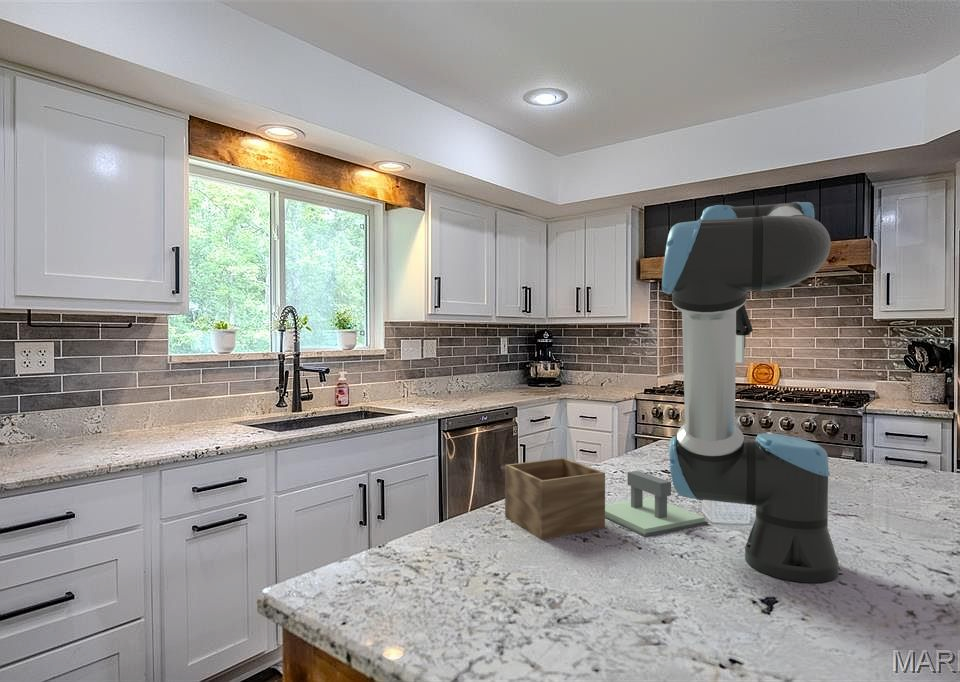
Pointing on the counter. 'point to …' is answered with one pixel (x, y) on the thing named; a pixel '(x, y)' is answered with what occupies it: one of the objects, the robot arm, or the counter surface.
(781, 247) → the robot arm
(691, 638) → the counter surface
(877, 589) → the counter surface
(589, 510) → the crate
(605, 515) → the mat
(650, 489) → the lid
